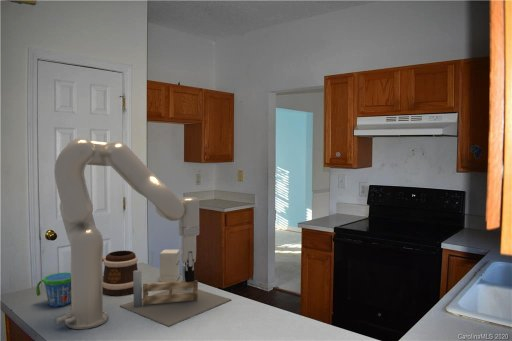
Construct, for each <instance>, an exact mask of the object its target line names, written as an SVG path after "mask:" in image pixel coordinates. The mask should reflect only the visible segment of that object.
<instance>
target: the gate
mask: <svg viewBox="0 0 512 341" xmlns="http://www.w3.org/2000/svg"><path fill="white" fill-rule="evenodd" d="M185 271H186V266H185ZM198 286H199V283H198V279H194V281H190V282H186V281H183V280H179V281H178V280H177V281H175V282H151V283H143V284H142V298H143V304H154V303H166V302H177V301H189V300H198V289H199V287H198ZM186 288H193V292H191V293H178V294H172V290H173V289H186ZM166 290H169V294H166V295H154V294H153V295H154V296H151V295H149V292H158V291H160V292H161V291H166Z"/></svg>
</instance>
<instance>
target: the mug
mask: <svg viewBox="0 0 512 341" xmlns="http://www.w3.org/2000/svg"><path fill="white" fill-rule="evenodd" d="M102 263H103V265H104V268H103V274H102V285H103V294H105V295H108V296H126V295H130V294H134V284H133V271H135V270H139V269H138V257H137V256H136V253H135V252H134V251H131V250H116V251H115V250H114V251H110V252H109V253H108V254H106V255H105V256H102Z"/></svg>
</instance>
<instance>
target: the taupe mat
mask: <svg viewBox="0 0 512 341" xmlns="http://www.w3.org/2000/svg"><path fill="white" fill-rule="evenodd" d="M191 292H193V288H191V289H189V290H184V289H173V290H172V294H178V293H191ZM166 294H169V290H162V291H160V292H157V293H154V294H152V295H150V296H154V295H166ZM231 301H232V298H228V297H225V296H221V295H218V294H215V293H212V292H208V291H205V290H202V289H199V288H198V300H189V301H177V302H166V303H154V304H143V297H142V306H141V307H134V300H133V301H130V302H127V303H124V304H120V305H119V307H120V308H122V309H124V310H126V311H128V312H132V313H134V314H135V315H139V316H141V317H144V318H146V319H149V320H151V321H153V322H156V323H158V324H161V325H163V326H166V327H168V328H169V327H171V326H174V325H177V324H179V323H181V322H184V321H187V320H188V319H191V318H193V317H195V316H198V315H200V314H203V313H205V312H207V311H210V310H211V309H215V308H217V307H219V306H221V305H224V304H226V303H228V302H231Z"/></svg>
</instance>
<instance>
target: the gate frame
mask: <svg viewBox="0 0 512 341" xmlns="http://www.w3.org/2000/svg"><path fill="white" fill-rule="evenodd" d="M182 281H185V264H184V265H182ZM133 284H134V292H133V301H134V307H141V306H142V298H143V284H142V270H140V269H138V270H135V271H133ZM189 289H191V288H186V289H184V290H189Z"/></svg>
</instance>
